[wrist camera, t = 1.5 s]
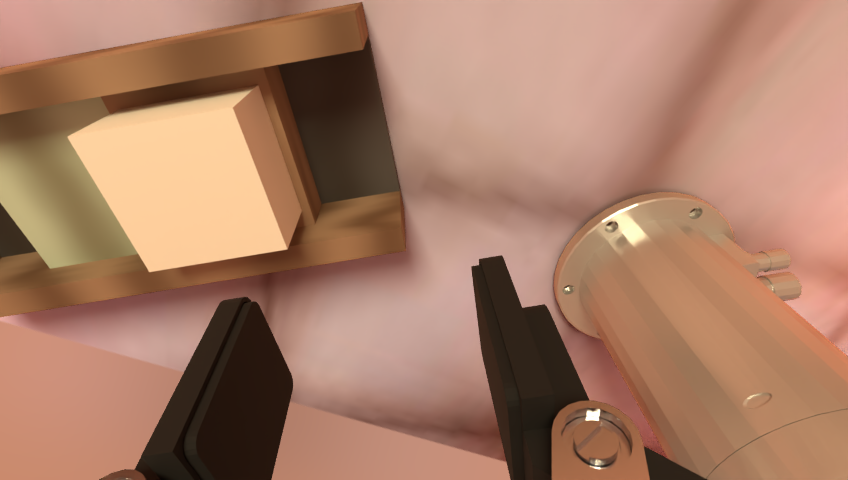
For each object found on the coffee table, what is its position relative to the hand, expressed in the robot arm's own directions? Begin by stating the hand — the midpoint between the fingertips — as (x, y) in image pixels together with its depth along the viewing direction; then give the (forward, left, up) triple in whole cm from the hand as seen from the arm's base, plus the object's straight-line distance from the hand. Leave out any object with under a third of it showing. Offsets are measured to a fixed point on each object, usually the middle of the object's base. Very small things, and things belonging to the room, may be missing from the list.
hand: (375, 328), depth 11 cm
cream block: (+9, 0, -14) cm, 17 cm away
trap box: (+14, 0, -17) cm, 22 cm away
